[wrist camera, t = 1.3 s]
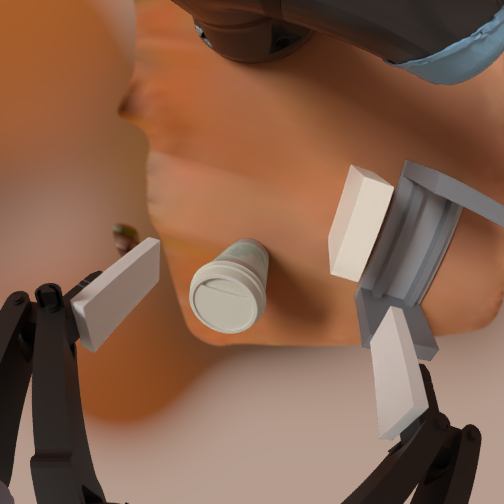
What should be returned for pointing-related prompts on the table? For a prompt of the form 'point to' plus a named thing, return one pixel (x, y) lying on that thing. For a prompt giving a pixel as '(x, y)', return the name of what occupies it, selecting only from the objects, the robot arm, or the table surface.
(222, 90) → the table surface
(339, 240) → the block
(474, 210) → the track
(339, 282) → the table surface
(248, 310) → the coffee cup
